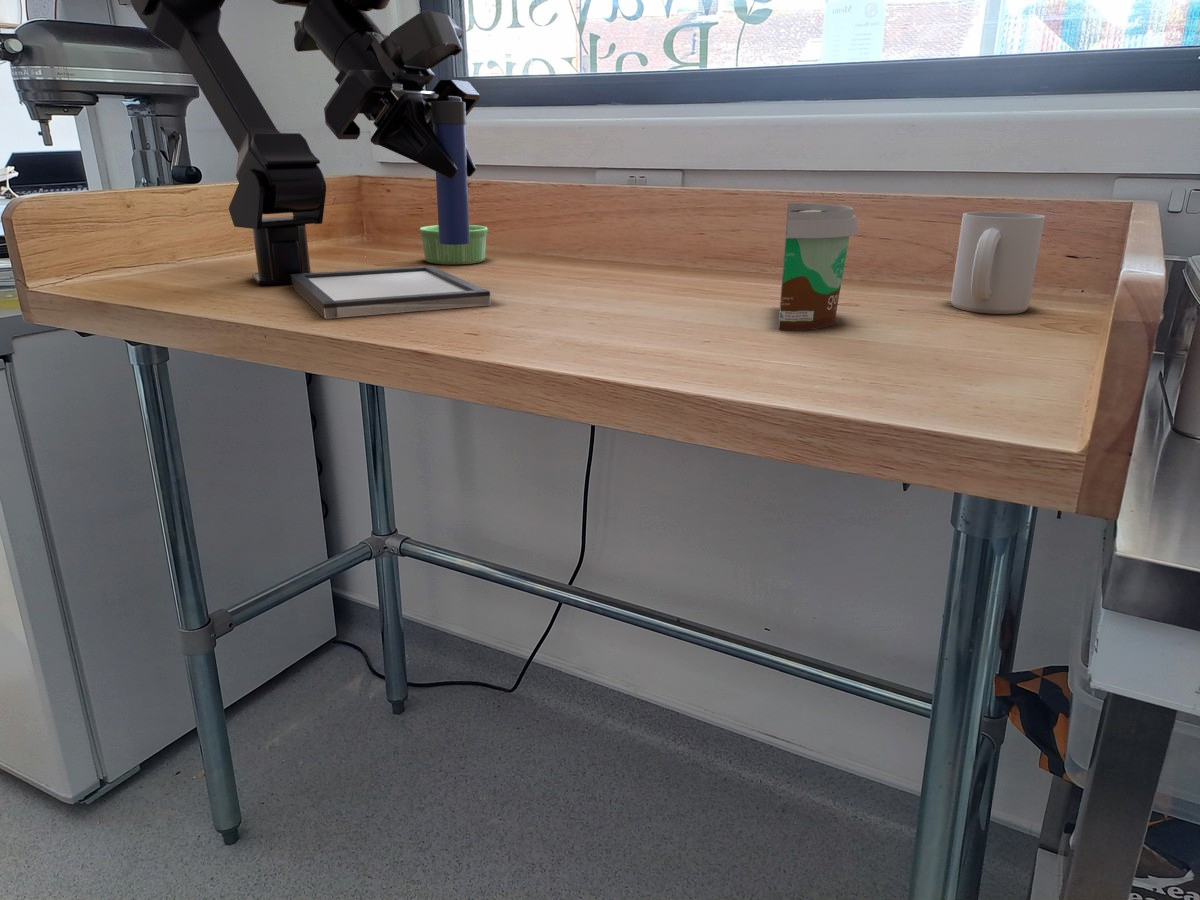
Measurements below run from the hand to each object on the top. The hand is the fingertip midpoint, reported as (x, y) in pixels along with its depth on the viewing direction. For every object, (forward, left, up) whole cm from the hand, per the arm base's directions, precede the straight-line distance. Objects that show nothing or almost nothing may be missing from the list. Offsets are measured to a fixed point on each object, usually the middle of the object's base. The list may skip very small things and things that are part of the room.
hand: (463, 173), depth 82 cm
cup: (+25, +44, -13) cm, 53 cm away
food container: (+22, +25, -13) cm, 36 cm away
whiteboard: (-8, -7, -12) cm, 16 cm away
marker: (-1, -1, -7) cm, 7 cm away
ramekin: (-31, +8, -13) cm, 34 cm away
